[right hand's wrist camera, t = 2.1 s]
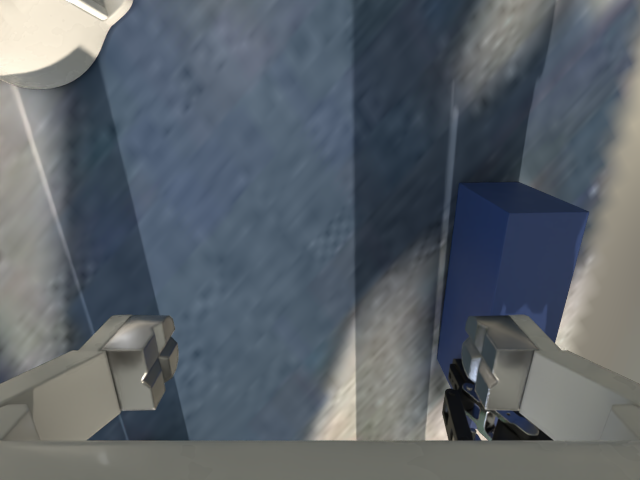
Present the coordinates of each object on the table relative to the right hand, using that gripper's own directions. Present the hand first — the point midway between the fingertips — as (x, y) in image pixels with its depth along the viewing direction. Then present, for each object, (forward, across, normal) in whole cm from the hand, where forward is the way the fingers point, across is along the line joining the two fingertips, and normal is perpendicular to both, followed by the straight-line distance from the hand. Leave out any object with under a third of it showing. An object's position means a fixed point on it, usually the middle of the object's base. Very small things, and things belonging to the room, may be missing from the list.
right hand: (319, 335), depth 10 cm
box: (+28, +17, -12) cm, 35 cm away
